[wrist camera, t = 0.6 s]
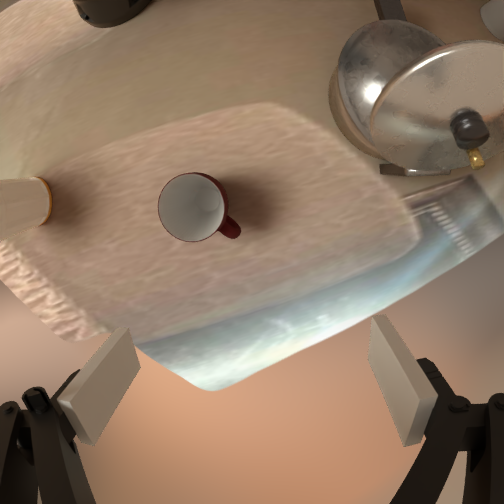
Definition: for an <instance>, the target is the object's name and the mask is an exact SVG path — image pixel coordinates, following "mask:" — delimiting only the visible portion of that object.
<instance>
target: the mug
mask: <svg viewBox="0 0 504 504" xmlns="http://www.w3.org/2000/svg"><path fill="white" fill-rule="evenodd" d="M158 213H159V217H160V220H161V222H162V224H163V226H164V228H165V229H166V230H167V231H168V232H169V233H170V234H171V235H172V236H174V237H175V238H177V239H179V240H182V241H186V242H198V241H202V240H205V239H207V238H209V237H210V236H212V235H213V234H214V233H215V232H216V231H220V232H221V233H222V234H223V235H225V236H226V237H228V238H231V239H235V238H237V237H238V236H239V235H240V233H241V228H240V226H239V225H238V224H237V223H236V222H235V221H234V220H233V219H232V218H231V217H229V216H228V215H227V213H228V198H227V194H226V192H225V190H224V188H223V186H222V185H221V184H220V183H219V182H218V181H217V180H216V179H214V178H213V177H211V176H209V175H207V174H204V173H197V172H193V173H186V174H181V175H179V176H176V177H175V178H173V179H172V180H170V181H169V182H168V183H167V184H166V185H165V187H164V188H163V190H162V192H161V194H160V197H159V201H158Z"/></svg>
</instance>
